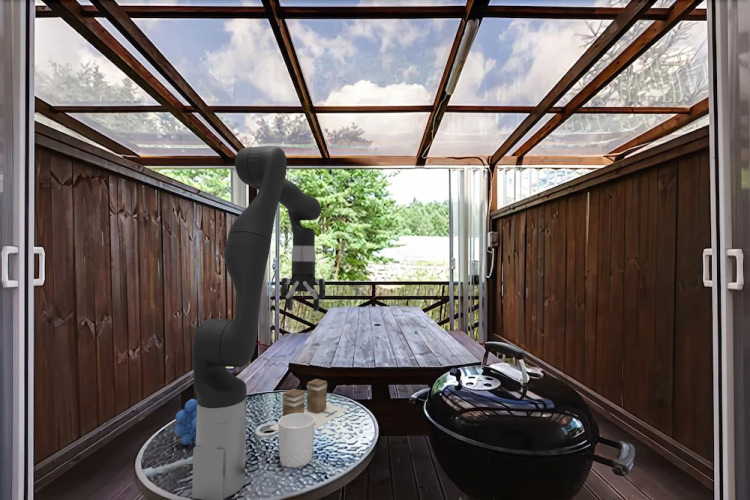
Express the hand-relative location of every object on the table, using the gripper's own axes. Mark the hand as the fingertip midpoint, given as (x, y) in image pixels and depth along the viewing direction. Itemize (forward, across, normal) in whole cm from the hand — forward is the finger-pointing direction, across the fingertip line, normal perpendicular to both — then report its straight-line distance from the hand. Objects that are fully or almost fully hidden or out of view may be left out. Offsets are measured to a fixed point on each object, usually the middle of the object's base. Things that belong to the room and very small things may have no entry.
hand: (302, 310), depth 120 cm
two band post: (+28, +4, -18) cm, 33 cm away
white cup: (+30, +12, -35) cm, 47 cm away
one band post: (+28, +8, -9) cm, 30 cm away
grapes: (+30, -15, -30) cm, 45 cm away
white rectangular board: (+29, +8, -14) cm, 33 cm away
